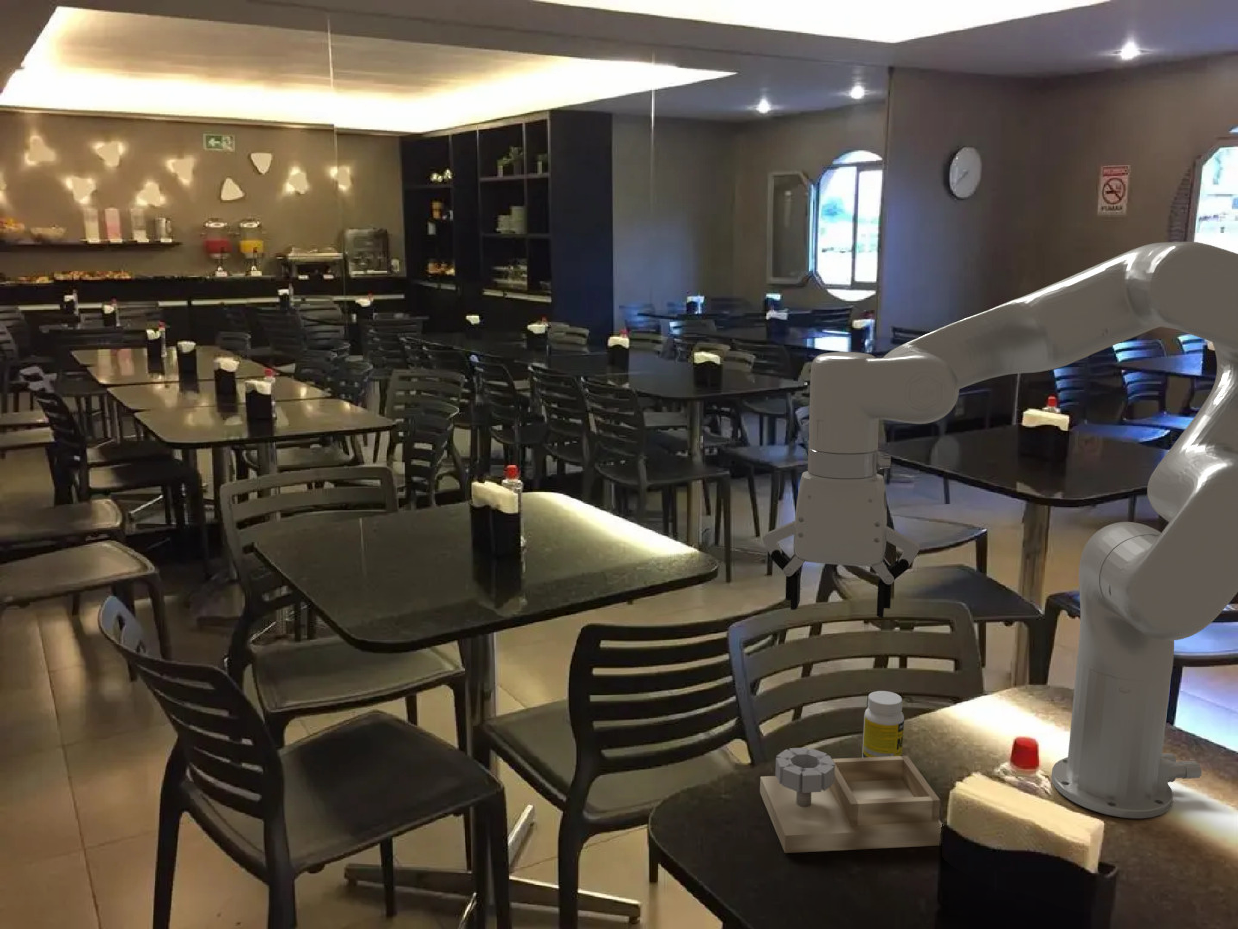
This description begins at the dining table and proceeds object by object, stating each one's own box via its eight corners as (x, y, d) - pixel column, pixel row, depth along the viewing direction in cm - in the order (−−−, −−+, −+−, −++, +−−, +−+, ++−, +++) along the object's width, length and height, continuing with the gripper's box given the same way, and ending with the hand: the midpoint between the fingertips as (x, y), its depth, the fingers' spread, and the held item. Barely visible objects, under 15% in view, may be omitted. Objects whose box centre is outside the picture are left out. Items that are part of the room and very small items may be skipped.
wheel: (823, 763, 111) (824, 746, 111) (839, 791, 105) (840, 774, 105) (771, 765, 111) (771, 749, 110) (784, 793, 105) (784, 776, 104)
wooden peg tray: (903, 786, 116) (905, 742, 115) (943, 845, 104) (947, 797, 103) (759, 792, 115) (761, 748, 114) (784, 853, 103) (786, 805, 102)
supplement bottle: (903, 772, 119) (906, 707, 117) (862, 769, 120) (865, 704, 118) (900, 753, 124) (903, 690, 122) (861, 750, 125) (864, 687, 123)
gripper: (923, 461, 111) (916, 605, 115) (769, 454, 116) (767, 593, 120) (923, 475, 104) (915, 628, 108) (759, 467, 109) (757, 614, 113)
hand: (837, 609), depth 114 cm, fingers open, 9 cm apart
